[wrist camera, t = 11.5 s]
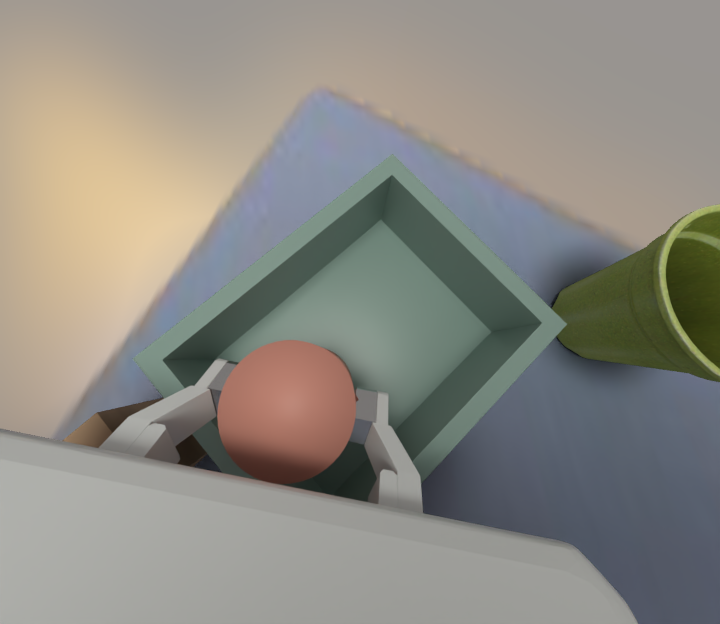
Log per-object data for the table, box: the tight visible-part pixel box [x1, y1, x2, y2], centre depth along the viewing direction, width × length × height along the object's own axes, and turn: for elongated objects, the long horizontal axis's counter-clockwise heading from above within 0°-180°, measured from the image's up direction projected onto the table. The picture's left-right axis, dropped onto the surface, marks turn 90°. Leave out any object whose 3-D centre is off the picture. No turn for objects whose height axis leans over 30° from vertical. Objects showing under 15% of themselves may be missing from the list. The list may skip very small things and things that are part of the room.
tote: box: [133, 154, 567, 502], centre depth 16 cm, size 14×18×6 cm
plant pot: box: [552, 204, 720, 382], centre depth 16 cm, size 9×9×9 cm
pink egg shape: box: [217, 340, 356, 484], centre depth 13 cm, size 5×5×7 cm
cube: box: [63, 398, 207, 467], centre depth 15 cm, size 5×5×5 cm
